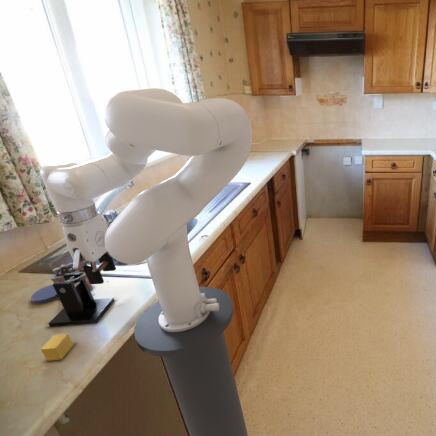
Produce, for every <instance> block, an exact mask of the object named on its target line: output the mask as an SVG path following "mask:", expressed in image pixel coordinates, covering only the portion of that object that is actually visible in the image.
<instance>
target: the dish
mask: <svg viewBox="0 0 436 436" xmlns="http://www.w3.org/2000/svg"><path fill="white" fill-rule="evenodd" d="M30 299H31V301H32V303H33V304H37V305H39V304H40V305H41V304H45V303H50V302H52V301H55V300H56V299H59V297H58V295H57V293H56V291H55V289H54V287H53V284H50V285H46V286H44V287H41V288H39V289H37V290H36V291H35V292H33V293H32V295H31V296H30Z"/></svg>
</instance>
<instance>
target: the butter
mask: <svg viewBox="0 0 436 436" xmlns="http://www.w3.org/2000/svg"><path fill="white" fill-rule="evenodd" d="M73 346H74V343H73V341H72V339H71V337H70V335H69V333H63V334H53V336H52V337H51V338H50V339H49V340H48V341H47V342H46V343H45V344H44V346H42V348H41V349H40V351H41V352H42V354H43V356H44V358H45V359H46V361H49V362H50V361H60V360H63V359H64V358H65V356H66V355H67V353H69V351H70V350H71V349H72V348H73Z"/></svg>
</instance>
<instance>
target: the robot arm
mask: <svg viewBox="0 0 436 436" xmlns="http://www.w3.org/2000/svg"><path fill="white" fill-rule="evenodd" d="M103 111H104V112H103V117H104V121H105V125H106V127H107V129H106V131H105V133H104V142H105V144H106V146H107V149H108V150H109V151H110V153H109V154H107V155H106V156H103V157H100V158H96V159H93V160H92V159H91V160H89V161H86V162H83V163H80V164H79V163H78V162H76V161H74V160H64V161H56V162H51V163H48V164H45V165H43V166H42V167H40V169H39V175H40V177H41V180H42V182H43V184H44V187H45V189H46V191H47V194H48V195H49V199H50V201H51V203H52V205H53V208H54V209H55V212H56V215H57V217H58V220H59V222H60V224H61V225H62V226H61V228H62V233H63V237H64V241H65V244H66V247H67V249H68V253H69V255H70V256H71V258H72V261H73V262H72V263H73V270H79V271H82V272H83V273H86V276H87V278H88V280H89V283H90V284H91V285H102V284H104V282H105V281H104V278H103V275H102V273H101V272H114V271H116V269H117V266H116V264H115V262H114V260H115V261H117V262H119V263H121V264H127V265H136V264H140V263H143V262H146V264H147V268H148V272H149V275H150V278H151V281H152V283H153V286H154V291H155V293H156V296H157V298H158V300H159V302H160V305H161V308H162V312H161V314H160V316H159V319H158V321H159V325H160V327H161V328H162V329H163V330H165V331H168V332H182V331H186V330H189V329H191V328H194V327H196V326H197V325H199V324H200V323H202V322H203V321H204V320H205V319H206V318H207V317H208V315H209V313H210V311H219V303H217V299H216V298H214V299H207V298H206V297H205V293H200V289H199V287H200V286H199V285H200V284H199V282H198V278H197V273H196V270H195V266H194V263H193V259H192V258H193V257H192V254H191V250H190V245H189V236H188V224H189V223H190V222H192V221H193V220H194V219H195V218H197V217H198V216H199V215H200V213H201V212H202V211H204V209H205V208H206V207H207V206H208V205H209V204H210V203H211V202H212V201H213V200H214V199H215V198H216V197H217V196H218V195H219V194H220V193H221V192H222V191H223V189H224V188H226V186H228V185H229V184H230V183H231V181H232V180H234V178H236V176H237V175H238V174H239V172H240V171H241V170H242V169H243V167H244V165H246V163H247V160H248V158H249V156H250V154H251V150H252V146H253V128H252V123H251V120H250V117H249V115H248V114H247V111H246V110H245V108H243V106H242V105H240V104H239V103H238V102H236V101H235V100H232V99H229V98H224V97H214V98H207V99H201V100H196V101H189V102H183V101H182V100H181V98H179V97H178V95H176V94H174V92H172V91H169V90H167V89H163V88H154V87H153V88H144V89H143V88H142V89H133V90H124V91H120V92H117V93H115V94H114V95H112V96H111V97H110V98H109V99H108V100H107V102H106V104H105V107H104V110H103ZM156 151H158V152H159V151H160V152H165V153H168V154H169V153H170V154H175V155H179V156H186V157H187V156H188V157H190V158H189V160H187V162H186V163H185V164H184V165H183V166H182V167H181V168H180V169H179V170H178V171H177V172H176V173H175V174H174V175H173V176H171V177H169V178H167V179H164V180H163V181H161V182H158V183H157V184H154V185H152V186H150V187H148V188H147V189H144V190H143V191H141V192H140V193H138V194H136V195H135V196H134V197H133V198H131V200H130V201H129V202H128V203H127V204H126V206H125V207H124V208H122V210H121V211H120V212H119V213H118V215H117V216H116V217H115V218H114V220H113V221H111V223H110V224H109V226H108V224H107V222H106V221H105V219H104V217H103V215H102V214H101V213H100V212H99V211H98V208H97V205H96V203H95V200H94V199H95V198H98V197H100V196H102V195H104V194H106V193H109V192H111V191H114V190H115V189H118V188H120V187H123V186H125V185H126V184H128V183H130V182H131V181H132V180H133V179H135V177H137V176H138V175H139V174H140V173H141V172H142V171H143V170H144V169H145V168H146V166H147V164H148V161H149V160H148V159H149V157H150V156H152V155H153V154H154V153H155V152H156ZM113 259H114V260H113ZM104 260H106V261H108V265H107V266H106V267H105V268H104V269H103V270H102V271H101V272H100V270H99V269H97V261H98V263H99V264H101V263H102V262H103V261H104ZM88 263H90V265H88Z"/></svg>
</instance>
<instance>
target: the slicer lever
mask: <svg viewBox="0 0 436 436" xmlns="http://www.w3.org/2000/svg"><path fill="white" fill-rule="evenodd" d="M107 265H108V261H106V260H104V261H103V262H102V263H101V264H100V263H99V264H98V265H96V267H97V269H99V270H100V272H103V269H104V268H105V267H106V266H107ZM85 278H87V276H86V273H85V274H83V275H81V276H79V277H77V278H75V277H74V276H73V277H71V278H69V279H67V280H65V281H64V282H67V281H73V283H74V285H75V287H76V286H77V285H78V284H79V283H80V281H81V280H83V279H85Z"/></svg>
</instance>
